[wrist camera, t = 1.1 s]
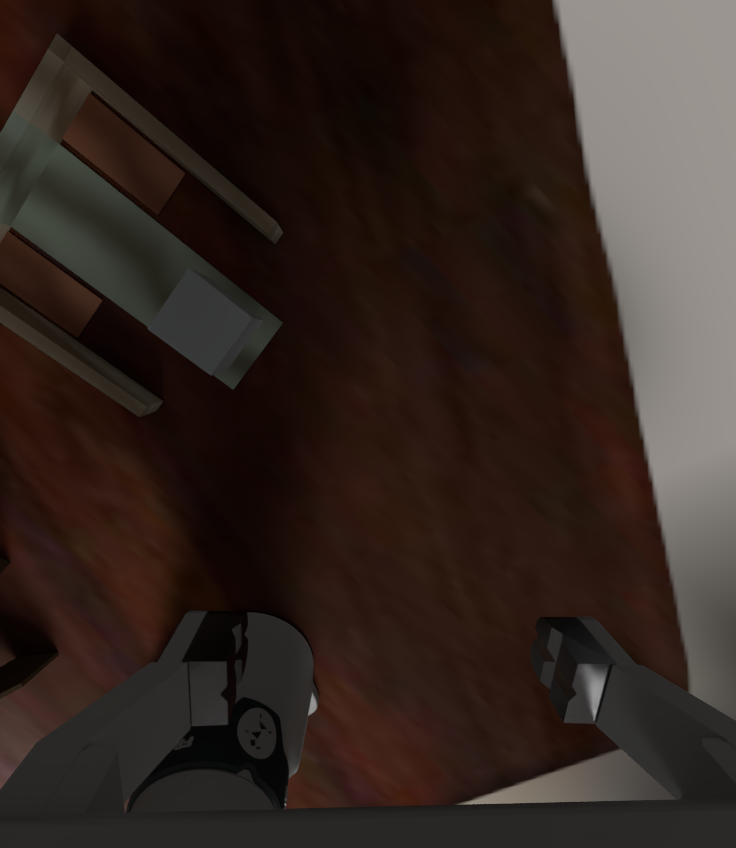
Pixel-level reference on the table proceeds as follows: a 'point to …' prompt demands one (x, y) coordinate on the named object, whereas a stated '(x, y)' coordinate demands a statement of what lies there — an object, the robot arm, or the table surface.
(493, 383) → the table surface
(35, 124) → the grey-green e-shaped frame
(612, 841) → the robot arm
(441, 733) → the table surface
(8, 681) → the photo frame
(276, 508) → the table surface
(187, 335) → the block
